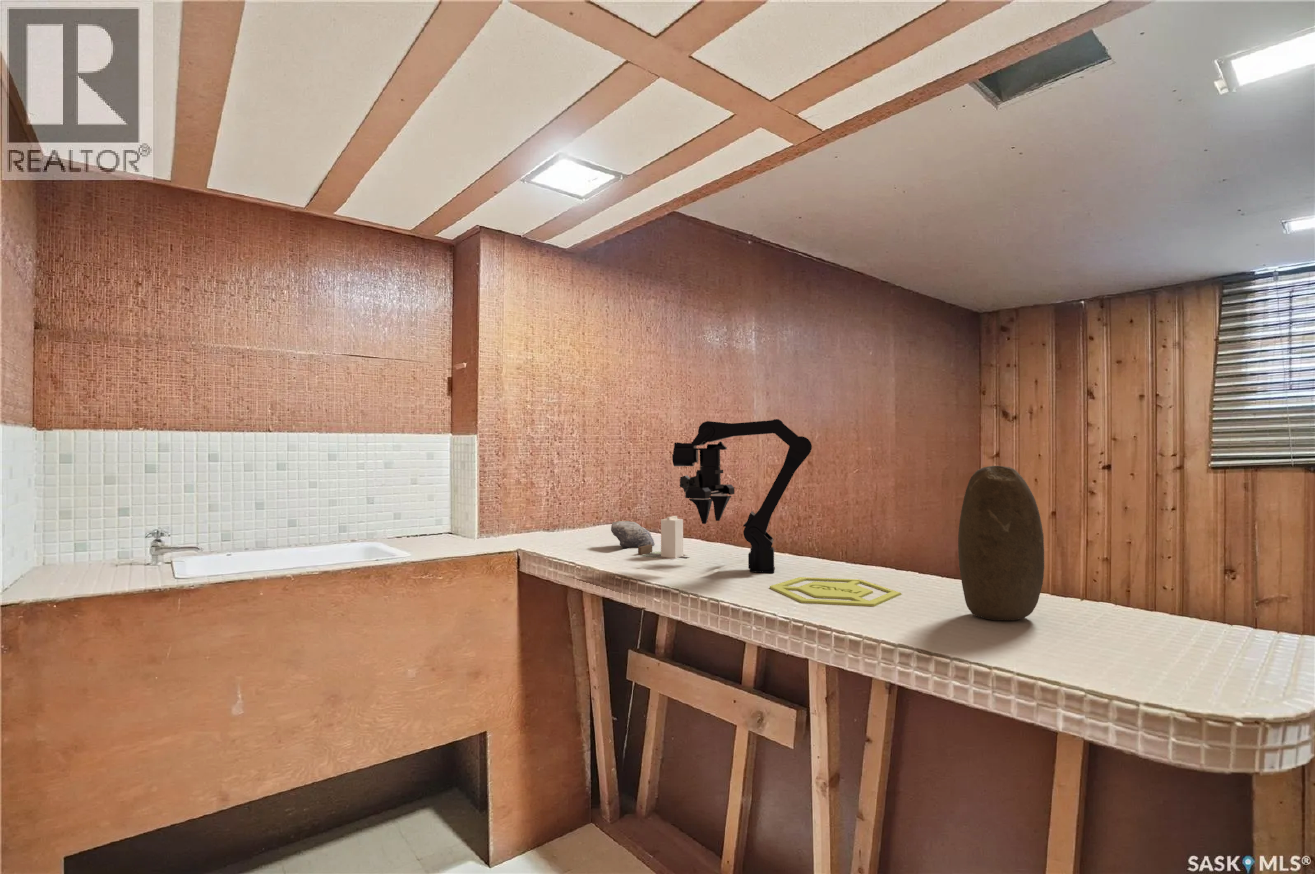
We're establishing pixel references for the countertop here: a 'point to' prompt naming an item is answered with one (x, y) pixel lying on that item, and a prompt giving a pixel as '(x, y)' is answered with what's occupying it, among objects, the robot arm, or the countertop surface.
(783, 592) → the logo
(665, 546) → the white rectangular block
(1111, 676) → the countertop surface
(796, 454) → the robot arm
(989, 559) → the stone
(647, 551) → the switch board
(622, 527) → the rock
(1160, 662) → the countertop surface
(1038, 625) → the countertop surface
